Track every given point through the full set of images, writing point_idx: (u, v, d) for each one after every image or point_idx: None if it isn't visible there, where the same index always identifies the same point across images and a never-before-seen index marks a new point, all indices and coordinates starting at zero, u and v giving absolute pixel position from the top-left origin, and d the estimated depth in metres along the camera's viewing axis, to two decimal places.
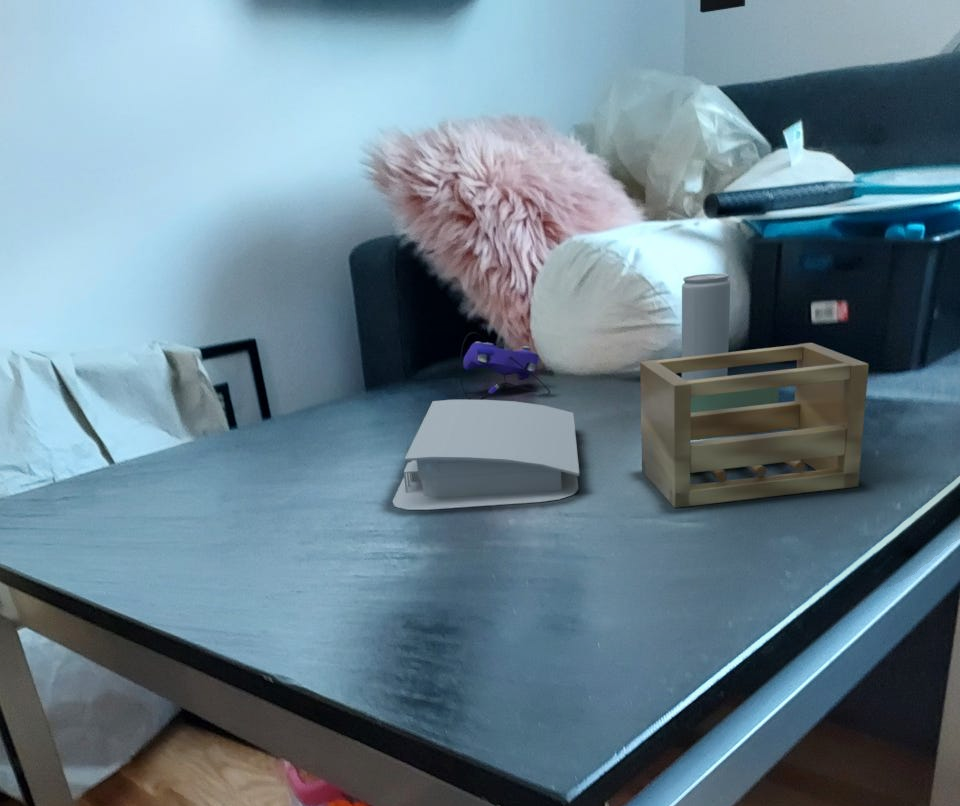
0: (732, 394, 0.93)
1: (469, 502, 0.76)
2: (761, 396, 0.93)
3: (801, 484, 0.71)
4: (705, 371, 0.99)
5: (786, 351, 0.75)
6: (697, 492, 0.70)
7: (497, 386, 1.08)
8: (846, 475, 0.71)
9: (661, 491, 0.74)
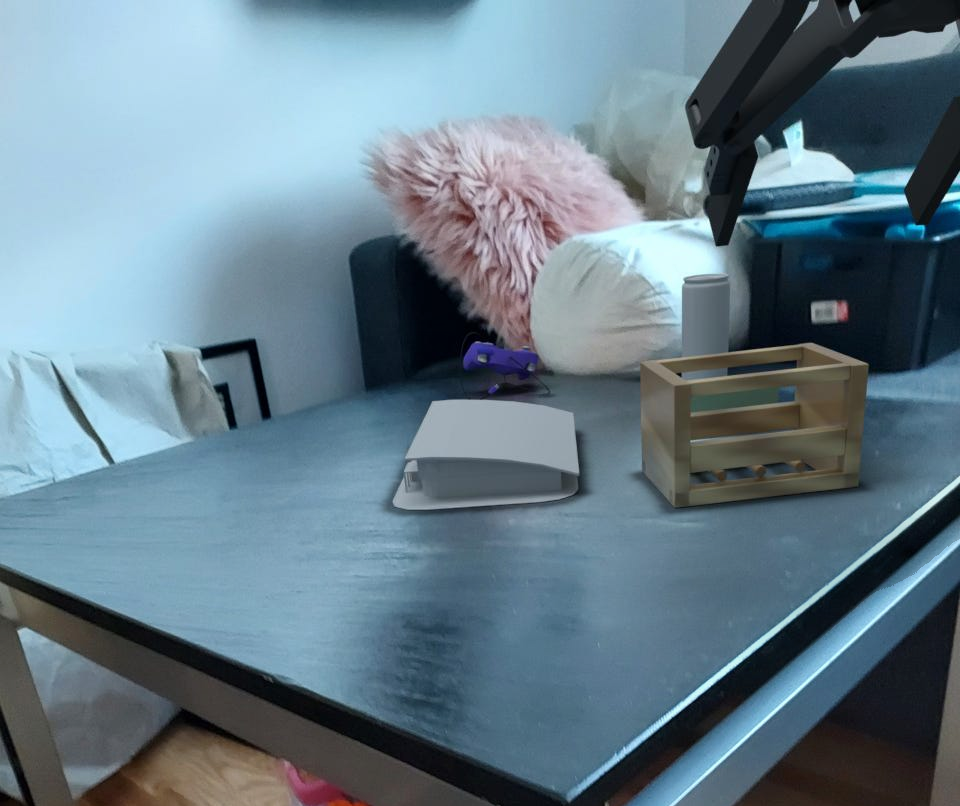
0: (732, 394, 0.93)
1: (469, 502, 0.76)
2: (761, 396, 0.93)
3: (801, 484, 0.71)
4: (705, 371, 0.99)
5: (786, 351, 0.75)
6: (697, 492, 0.70)
7: (497, 386, 1.08)
8: (846, 475, 0.71)
9: (661, 491, 0.74)
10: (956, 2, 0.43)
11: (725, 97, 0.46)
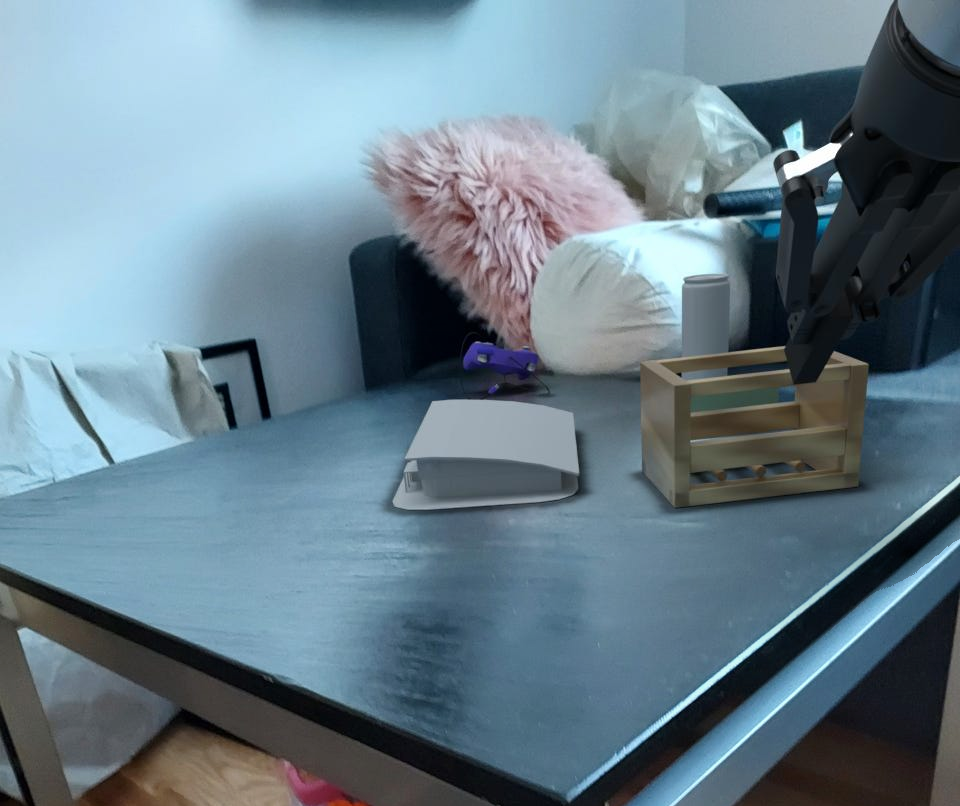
0: (732, 394, 0.93)
1: (469, 502, 0.76)
2: (761, 396, 0.93)
3: (801, 484, 0.71)
4: (705, 371, 0.99)
5: None
6: (697, 492, 0.70)
7: (497, 386, 1.08)
8: (846, 475, 0.71)
9: (661, 491, 0.74)
10: (924, 185, 0.46)
11: (790, 280, 0.52)
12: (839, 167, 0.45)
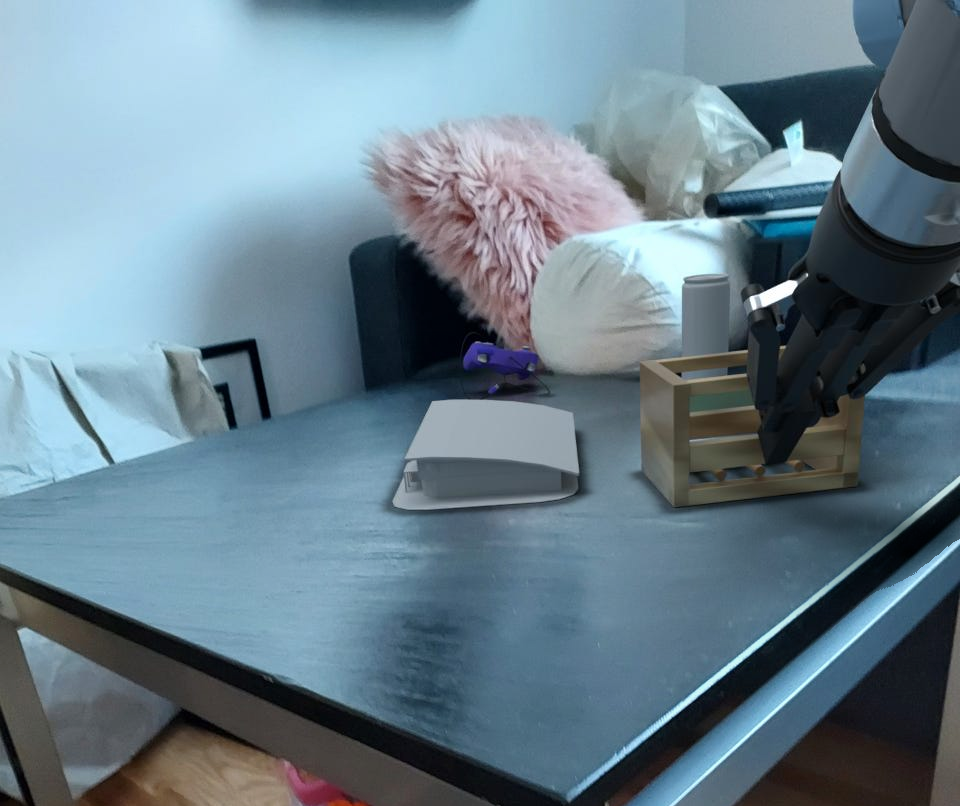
0: (732, 394, 0.93)
1: (469, 502, 0.76)
2: None
3: (800, 484, 0.71)
4: (705, 371, 0.99)
5: None
6: (696, 492, 0.70)
7: (497, 386, 1.08)
8: (845, 475, 0.71)
9: (660, 491, 0.74)
10: (871, 313, 0.53)
11: (758, 386, 0.58)
12: (796, 302, 0.52)
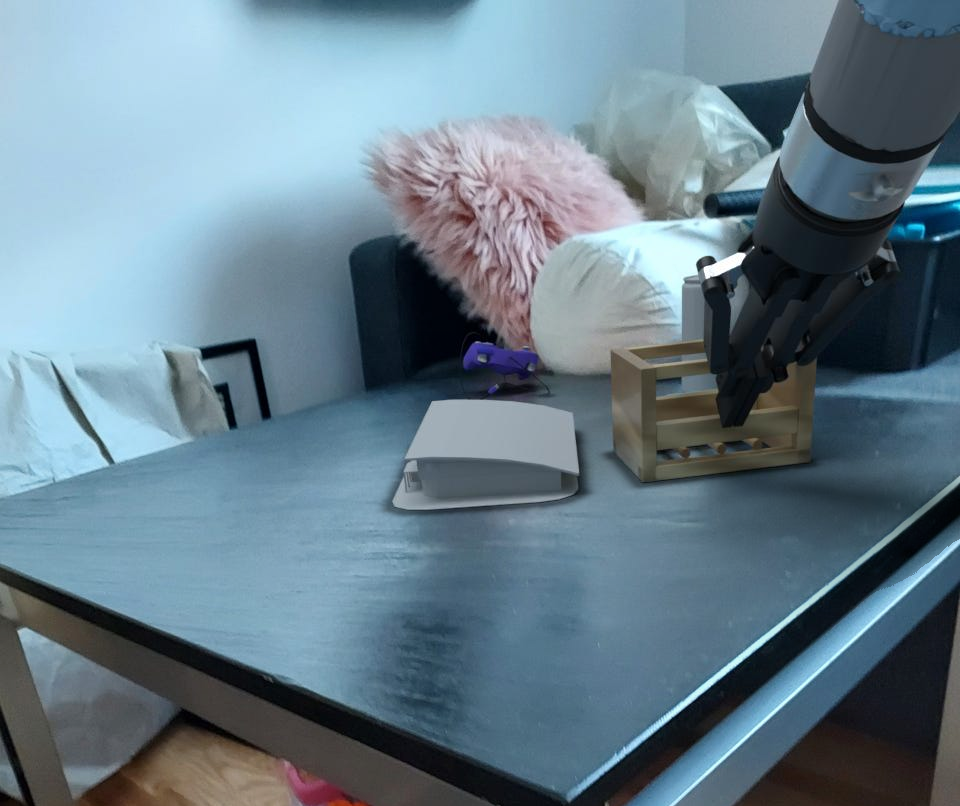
0: None
1: (469, 502, 0.76)
2: None
3: (758, 460, 0.77)
4: None
5: None
6: (663, 468, 0.76)
7: (497, 386, 1.08)
8: (799, 452, 0.77)
9: (631, 468, 0.80)
10: (811, 284, 0.60)
11: (712, 351, 0.65)
12: (744, 271, 0.58)
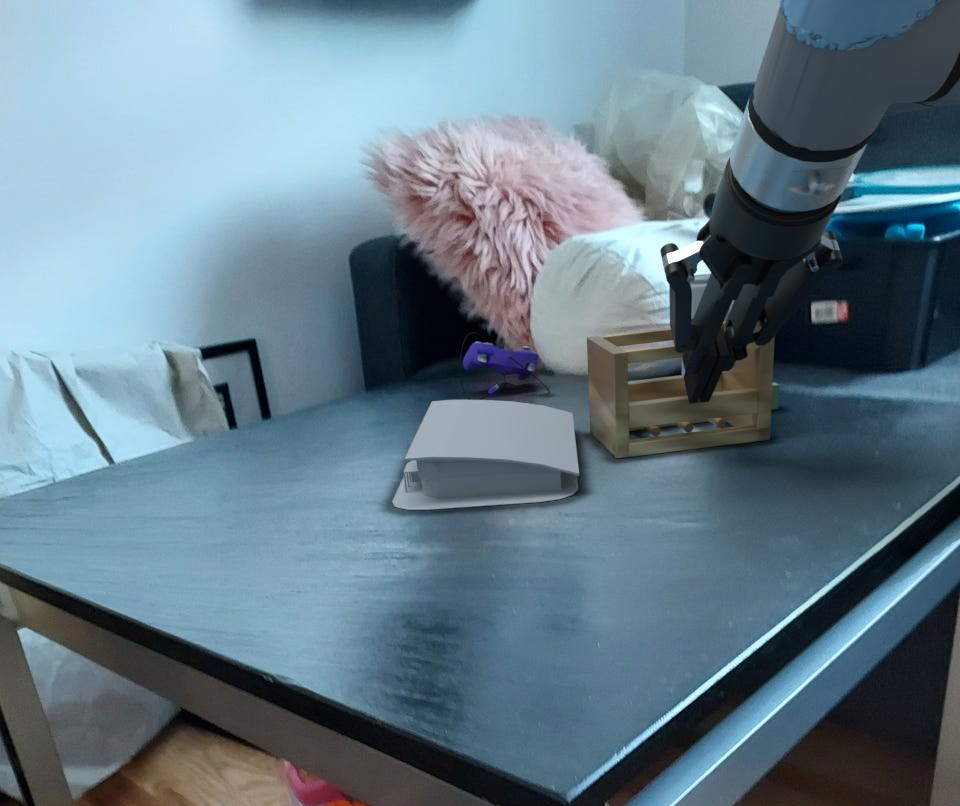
0: None
1: (469, 502, 0.76)
2: None
3: (722, 438, 0.84)
4: None
5: None
6: (635, 445, 0.83)
7: (497, 386, 1.08)
8: (759, 430, 0.84)
9: (606, 446, 0.87)
10: (763, 270, 0.67)
11: (676, 330, 0.72)
12: (702, 258, 0.65)
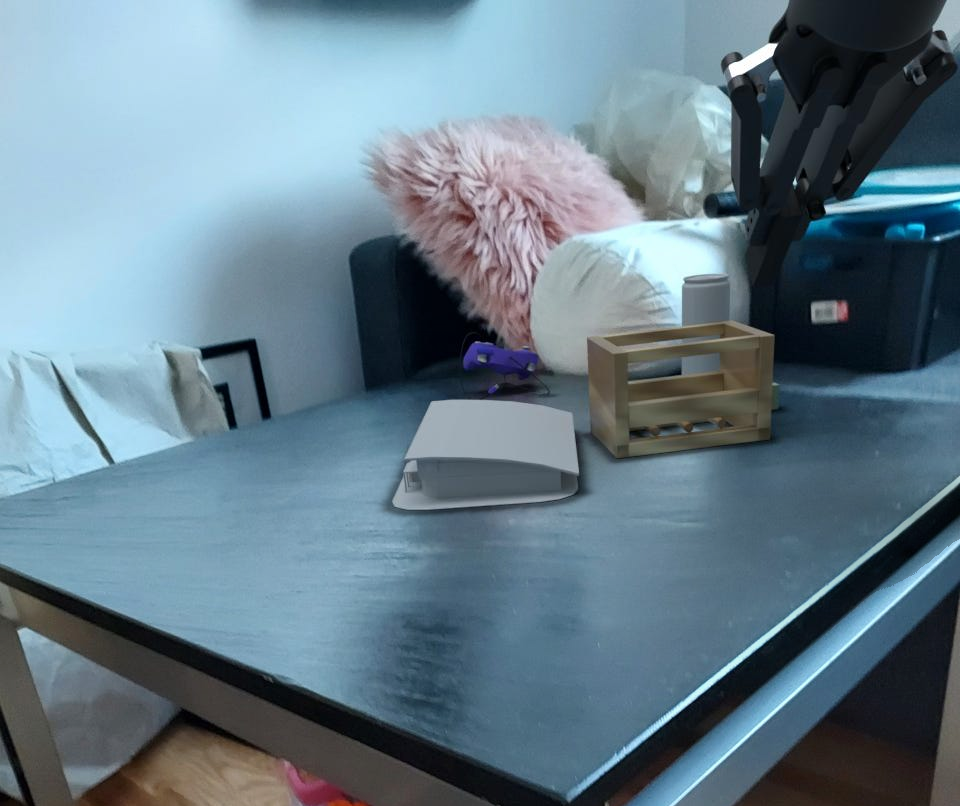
0: None
1: (469, 502, 0.76)
2: None
3: (722, 437, 0.84)
4: (705, 371, 0.99)
5: (710, 327, 0.88)
6: (635, 445, 0.83)
7: (497, 386, 1.08)
8: (759, 430, 0.84)
9: (606, 446, 0.87)
10: (855, 82, 0.52)
11: (741, 178, 0.57)
12: (777, 64, 0.50)
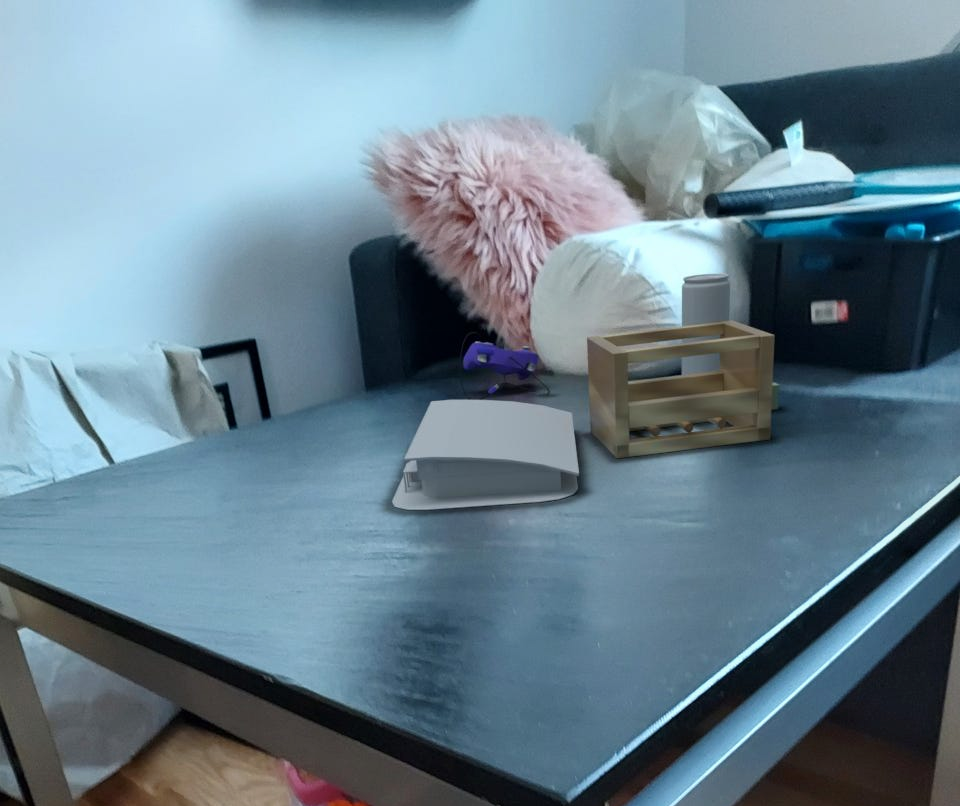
0: None
1: (469, 502, 0.76)
2: None
3: (722, 437, 0.84)
4: (705, 371, 0.99)
5: (710, 327, 0.88)
6: (635, 445, 0.83)
7: (497, 386, 1.08)
8: (759, 430, 0.84)
9: (606, 446, 0.87)
10: None
11: None
12: None
